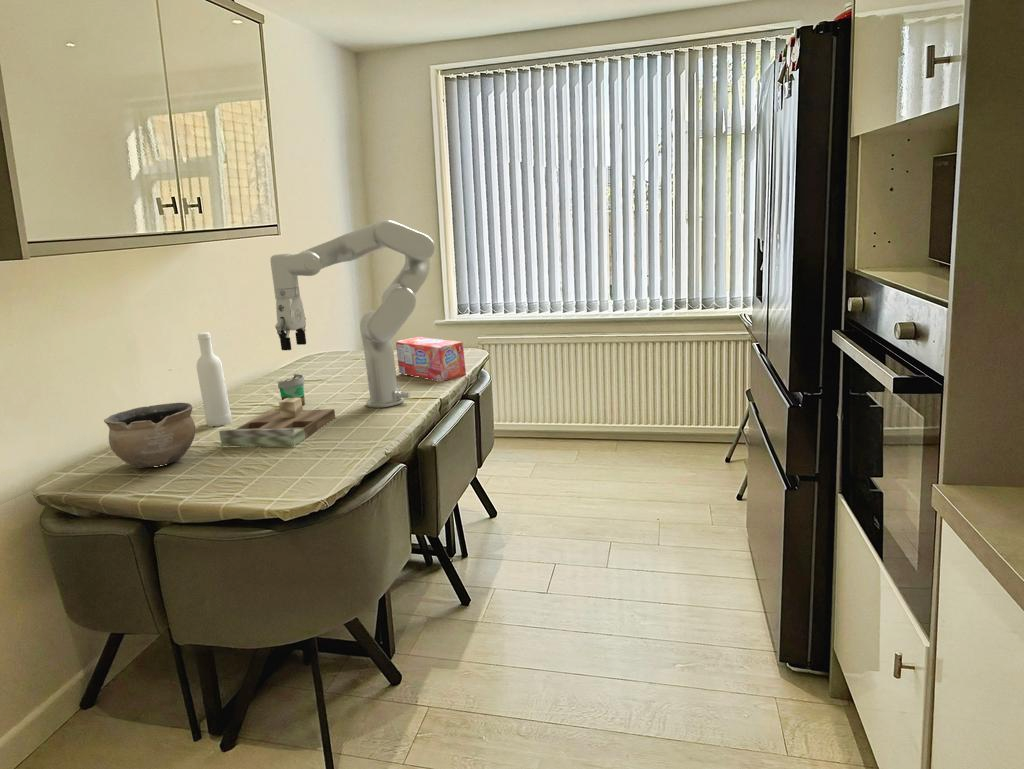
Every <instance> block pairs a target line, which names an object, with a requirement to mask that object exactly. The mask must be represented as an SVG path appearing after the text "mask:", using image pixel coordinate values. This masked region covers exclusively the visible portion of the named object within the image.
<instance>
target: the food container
mask: <svg viewBox="0 0 1024 769" xmlns="http://www.w3.org/2000/svg"><path fill="white" fill-rule="evenodd" d="M305 382H306V379H305V376H304V375H303V374H296V373H295V374H293V377H291V378H287V379H285V380H284V381H277V387H278V389H279V394H280V397H281V401H282V400H284V399H286V398H301V401H302V407H303V406H305V405H306V401H305V388H304V384H305Z"/></svg>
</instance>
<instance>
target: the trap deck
mask: <svg viewBox="0 0 1024 769" xmlns="http://www.w3.org/2000/svg"><path fill="white" fill-rule="evenodd" d="M333 419H334V420H335V419H336V412H335V409H334V408H330V409H329V408H327V409H326V408H325V409H323V408H322V409H303V413H302V414H301V415H299V416H297V417H291V418H281V413H280V410H268V411H266V412H264V413H262V414H260V415H258V416H257V417H255V418H253V419H251V420H249V421H247V422H246V423H243V424H242V425H241V426H239V427H237V428H235V429H219V437H220V444H221V447H222V446H240V447H239V448H242V447H241V446H246V447H245V448H255V447H254V446H278V447H295V446H294V445H296V444H297V443H298V444H300V443H301V442H303V441H304V440H306V439H307V438H309V437H310V436H312V435H313V434H314V432H315V431H316V432H317V430H318V429H319V430H320V429H322V428H324V427H325V426H327V425H328V424H329V423H331V422H332V421H333ZM330 421H331V422H330ZM327 423H328V424H327ZM324 425H325V426H324ZM321 427H322V428H321ZM319 430H318V431H319ZM316 432H315V433H316ZM312 433H313V434H312ZM311 434H312V435H311ZM309 435H310V436H309ZM308 436H309V437H308ZM306 437H307V438H306ZM305 438H306V439H305ZM303 439H304V440H303ZM302 440H303V441H302ZM300 441H301V442H300ZM299 442H300V443H299ZM298 444H297V445H298ZM292 445H293V446H292ZM297 445H296V446H297ZM247 446H249V447H247ZM251 446H252V447H251Z"/></svg>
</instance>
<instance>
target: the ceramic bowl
mask: <svg viewBox="0 0 1024 769" xmlns="http://www.w3.org/2000/svg"><path fill="white" fill-rule="evenodd" d="M192 412H193V405H192V404H191V403H189V402H171V403H163V404H161V403H160V404H156V405H149V406H142V407H139V406H138V407H136V408H132V409H127V410H124V411H120V412H117V413H114V414H112V415H109V416H108V417H106V418H105V419H104V420H103V421H104V423H105V424H106V426H107V427H108V430H109V431H108V444H109V447H110V450H111V451H112V452H113V453H114V454H115V455H116V457H117V458H119V459H120V460H121V461H123V462H124V463H125V464H128V465H130V466H132V467H135V468H137V467H154V466H160V465H165V464H169V463H171V464H173V463H175V462H178V461H179V460H181V458H182V457H183V456H184V455H185V454H186V453H187V452H188V451H189V449H190V447H191V446H192V444H193V442H194V439H195V436H196V425H195V421H194V419H193V417H192V415H191V414H192ZM172 462H173V463H172ZM169 465H170V464H169Z"/></svg>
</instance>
